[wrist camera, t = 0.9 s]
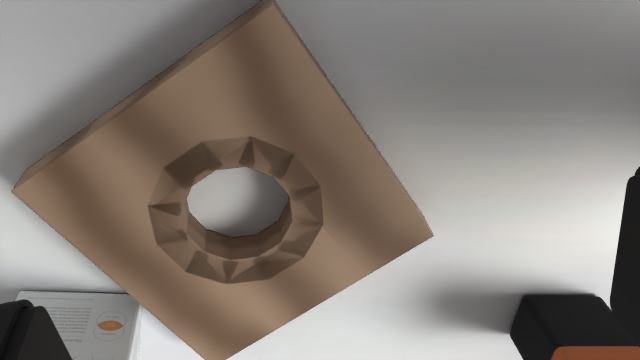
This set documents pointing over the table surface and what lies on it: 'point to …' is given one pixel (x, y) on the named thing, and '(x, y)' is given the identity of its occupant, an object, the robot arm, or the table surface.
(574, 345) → the battery
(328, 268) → the socket block
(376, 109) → the table surface
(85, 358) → the small box
